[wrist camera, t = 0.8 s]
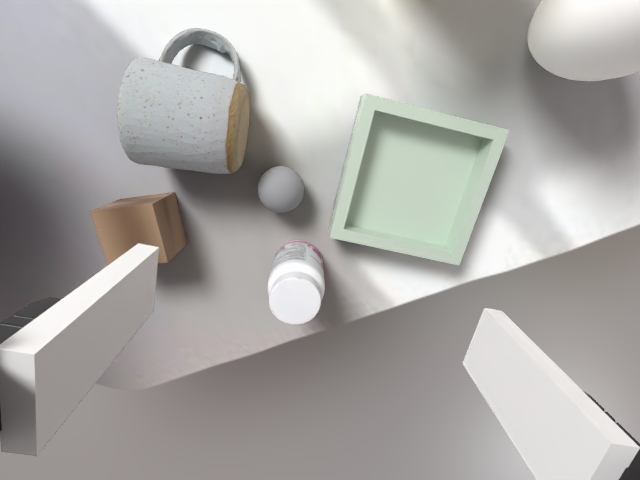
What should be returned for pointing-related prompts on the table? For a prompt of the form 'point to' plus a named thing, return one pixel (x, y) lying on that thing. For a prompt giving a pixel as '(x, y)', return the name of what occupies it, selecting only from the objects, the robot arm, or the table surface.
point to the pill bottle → (296, 282)
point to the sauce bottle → (586, 38)
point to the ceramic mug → (184, 110)
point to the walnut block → (140, 226)
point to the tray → (414, 179)
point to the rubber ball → (280, 189)
